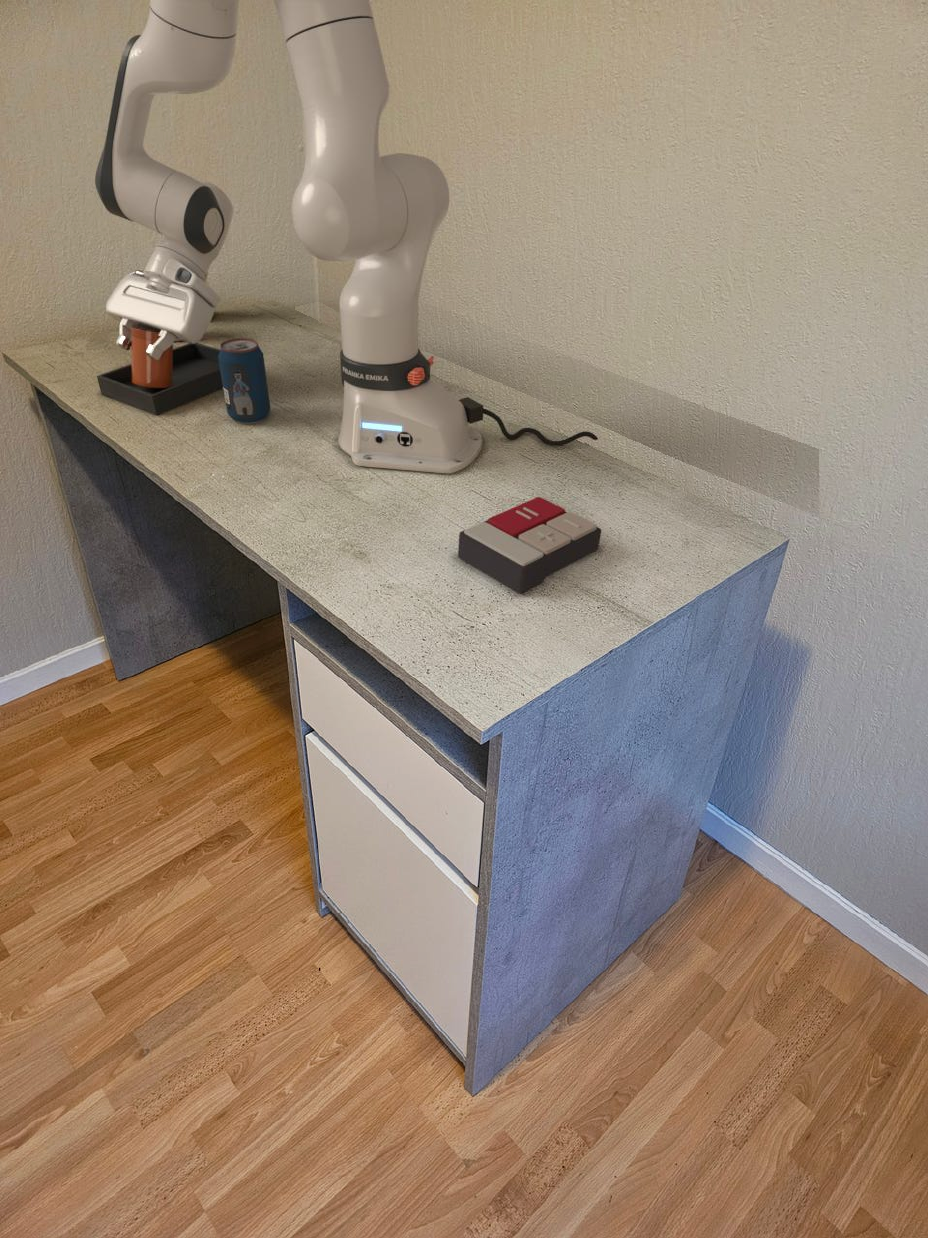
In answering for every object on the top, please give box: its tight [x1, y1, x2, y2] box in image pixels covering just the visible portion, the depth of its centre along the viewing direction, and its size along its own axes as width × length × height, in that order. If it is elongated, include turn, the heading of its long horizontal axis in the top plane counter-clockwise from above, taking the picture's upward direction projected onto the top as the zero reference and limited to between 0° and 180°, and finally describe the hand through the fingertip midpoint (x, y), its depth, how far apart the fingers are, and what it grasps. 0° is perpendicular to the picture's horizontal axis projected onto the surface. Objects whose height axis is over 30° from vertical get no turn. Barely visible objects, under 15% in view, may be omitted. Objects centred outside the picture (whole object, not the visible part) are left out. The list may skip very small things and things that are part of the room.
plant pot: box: [130, 325, 174, 388], centre depth 137 cm, size 7×7×9 cm
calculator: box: [457, 496, 602, 594], centre depth 103 cm, size 11×4×15 cm
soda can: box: [218, 337, 271, 425], centre depth 130 cm, size 7×7×12 cm
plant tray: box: [96, 342, 223, 416], centre depth 143 cm, size 21×14×3 cm
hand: (136, 352), depth 135 cm, fingers closed on plant pot, 6 cm apart
